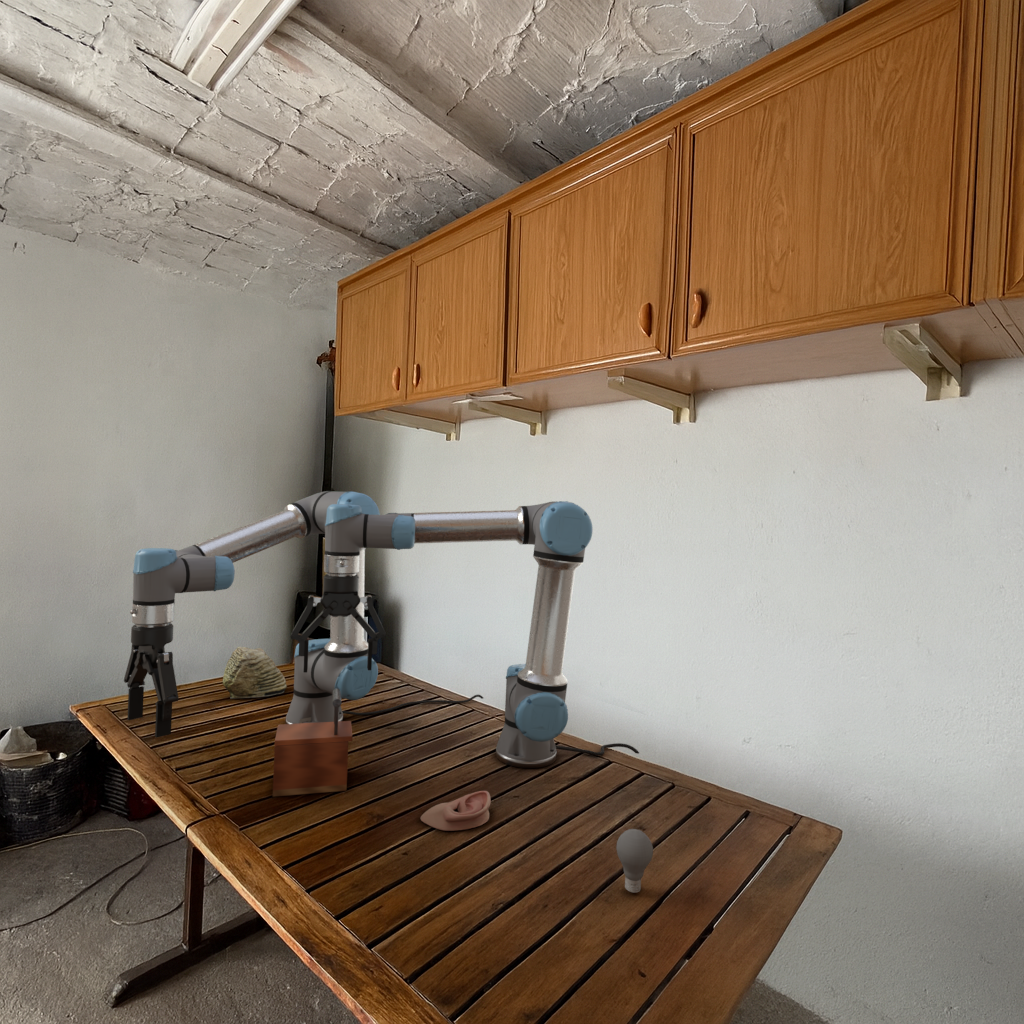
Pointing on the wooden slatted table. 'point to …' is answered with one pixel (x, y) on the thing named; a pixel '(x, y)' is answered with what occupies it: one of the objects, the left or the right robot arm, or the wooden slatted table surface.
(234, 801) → the wooden slatted table surface
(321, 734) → the lid
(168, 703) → the left robot arm
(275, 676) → the fossil
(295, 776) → the chest
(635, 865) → the light bulb
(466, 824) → the anatomical model
